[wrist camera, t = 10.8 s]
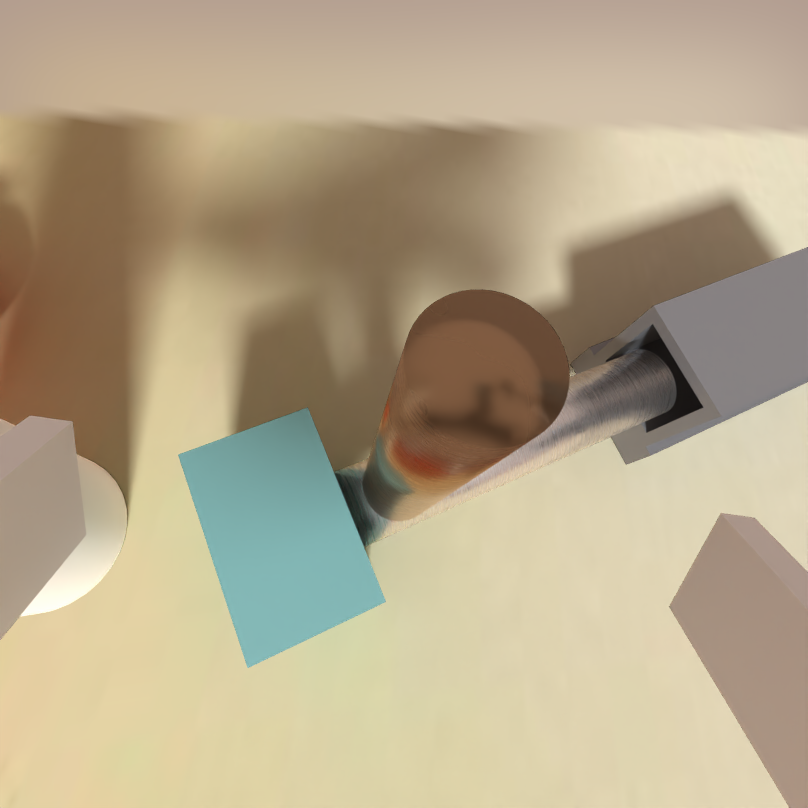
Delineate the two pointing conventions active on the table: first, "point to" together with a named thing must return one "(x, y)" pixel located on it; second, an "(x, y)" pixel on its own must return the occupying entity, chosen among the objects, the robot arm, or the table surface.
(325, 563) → the end socket
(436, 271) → the table surface
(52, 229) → the table surface
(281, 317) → the table surface
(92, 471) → the cylindrical container
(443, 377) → the sliding bolt
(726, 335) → the outer sleeve
